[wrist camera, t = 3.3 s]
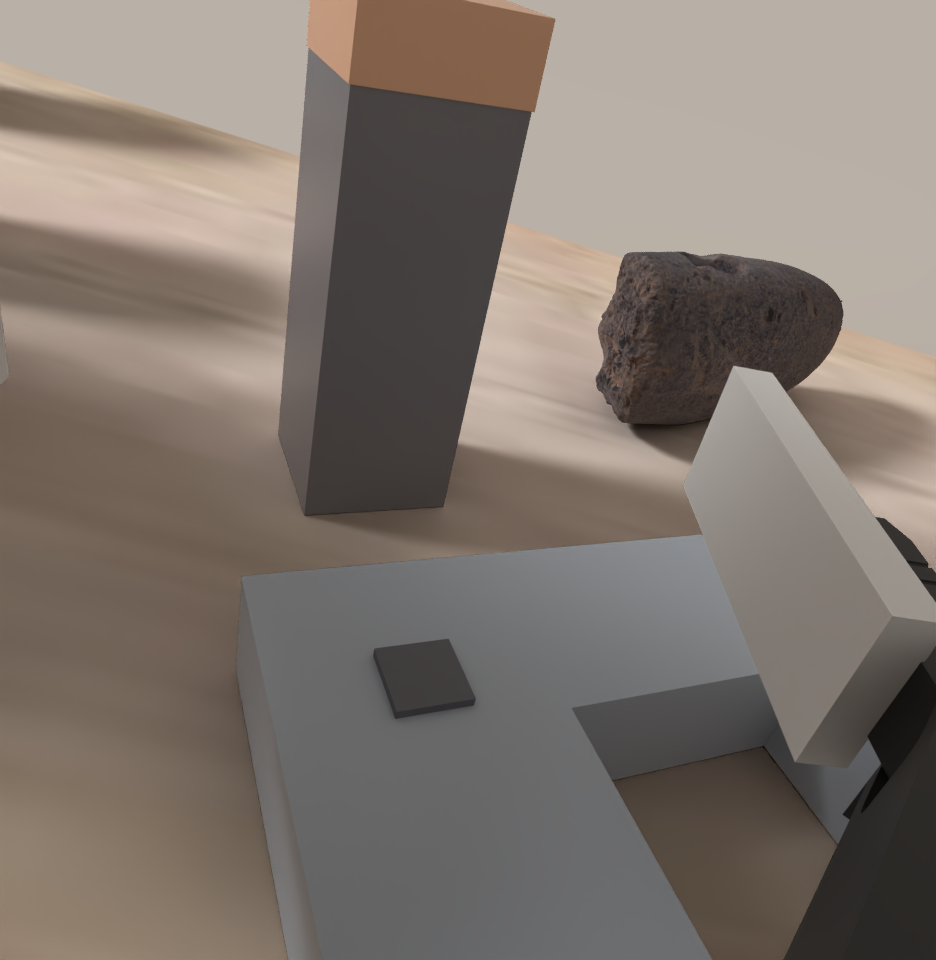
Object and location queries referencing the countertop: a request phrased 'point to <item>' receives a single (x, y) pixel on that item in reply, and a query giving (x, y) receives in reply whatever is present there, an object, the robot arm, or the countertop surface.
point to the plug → (399, 237)
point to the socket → (495, 747)
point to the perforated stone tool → (707, 331)
